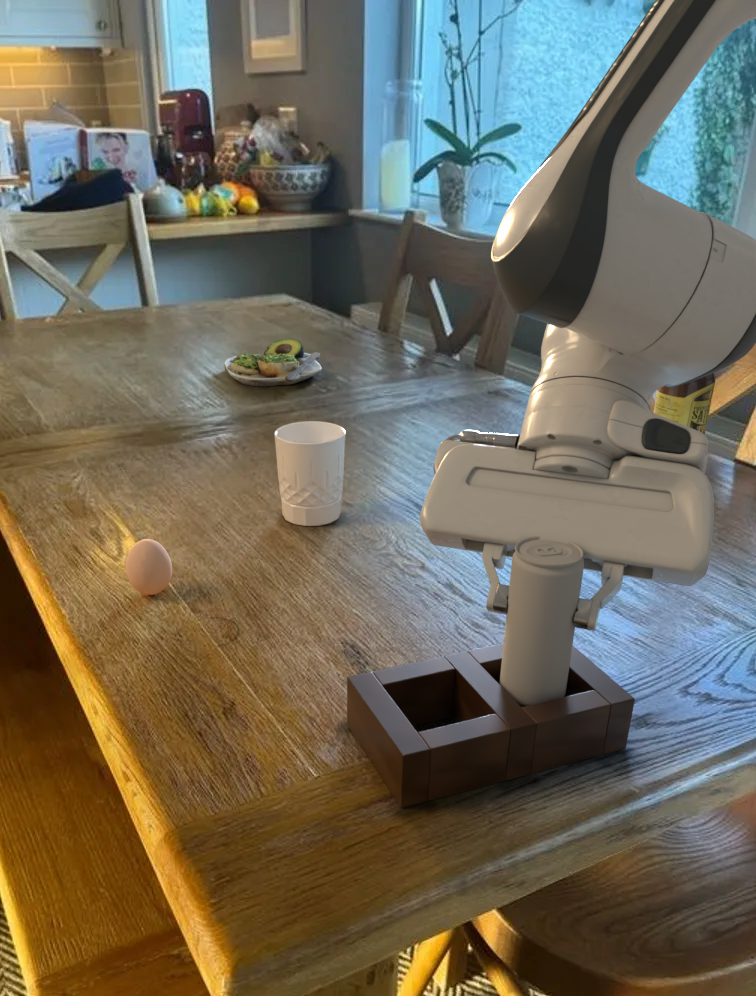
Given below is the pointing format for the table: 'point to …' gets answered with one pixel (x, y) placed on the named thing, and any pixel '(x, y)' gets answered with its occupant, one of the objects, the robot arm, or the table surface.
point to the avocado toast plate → (274, 365)
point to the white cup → (310, 471)
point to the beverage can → (540, 619)
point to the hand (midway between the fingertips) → (540, 619)
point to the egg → (148, 567)
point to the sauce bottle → (687, 402)
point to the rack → (478, 723)
